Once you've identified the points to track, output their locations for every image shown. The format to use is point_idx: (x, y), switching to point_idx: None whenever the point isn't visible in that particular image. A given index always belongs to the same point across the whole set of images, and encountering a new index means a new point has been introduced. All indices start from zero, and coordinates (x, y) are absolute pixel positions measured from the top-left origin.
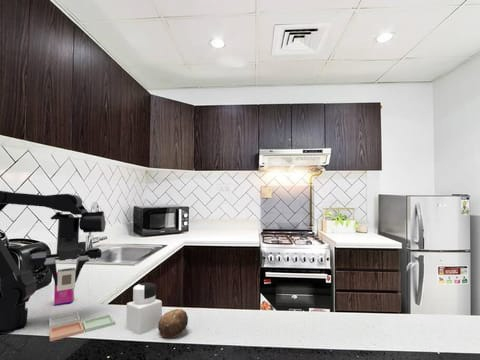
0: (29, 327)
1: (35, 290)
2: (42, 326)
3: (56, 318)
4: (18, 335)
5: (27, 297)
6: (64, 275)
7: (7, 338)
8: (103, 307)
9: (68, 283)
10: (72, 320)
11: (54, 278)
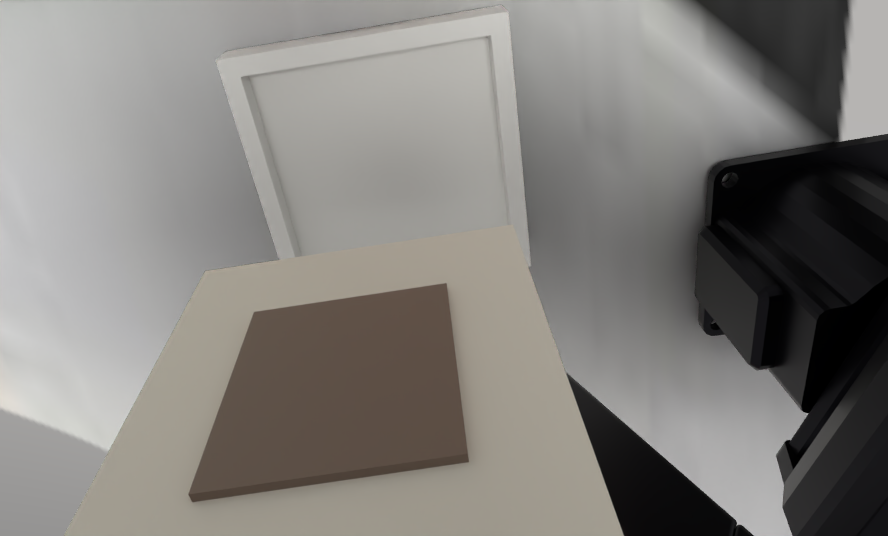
0: (666, 194)
1: (789, 515)
2: (568, 157)
3: None
4: (748, 28)
5: (865, 366)
6: (398, 463)
7: (829, 2)
8: (92, 380)
9: (304, 312)
10: (291, 48)
11: (650, 469)
